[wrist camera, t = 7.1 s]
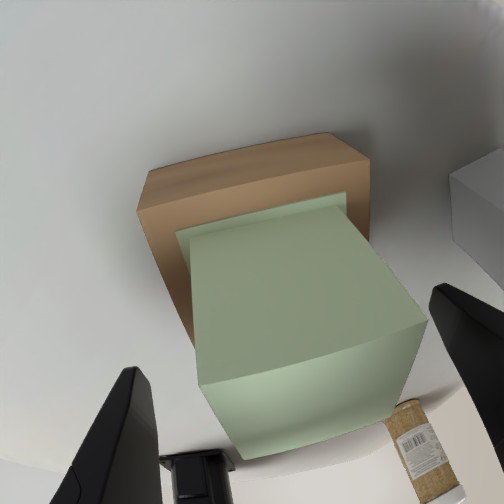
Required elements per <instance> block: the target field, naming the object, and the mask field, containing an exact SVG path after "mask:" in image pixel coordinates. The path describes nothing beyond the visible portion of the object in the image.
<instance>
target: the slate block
mask: <svg viewBox="0 0 504 504" xmlns="http://www.w3.org/2000/svg"><path fill="white" fill-rule="evenodd" d="M449 183H450V195H451V209H452V231H453V240H454V241H455V242H456V243H457V244H458V245H459V246H460V247H461V248H462V249H463V250H464V251H465V252H466V253H467V254H468V255H469V256H470V257H471V258H472V259H473V260H474V261H475V262H476V263H477V264H479V265H480V266H481V268H482V269H483V270H484V271H485V272H486V273H487V274H488V275H489V276H490V277H491V278H492V279H493V280H494V281H495V282H496V283H497V284H498V285H499V286H500V287H501V288H502V289H503V290H504V149H502V148H498V149H496V150H494V151H493V152H491V153H489V154H487V155H485V156H483V157H481V158H479V159H477V160H475V161H474V162H472V163H470V164H468V165H466V166H464V167H462V168H460V169H458V170H456V171H454V172H452V173H451V174H449Z"/></svg>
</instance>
